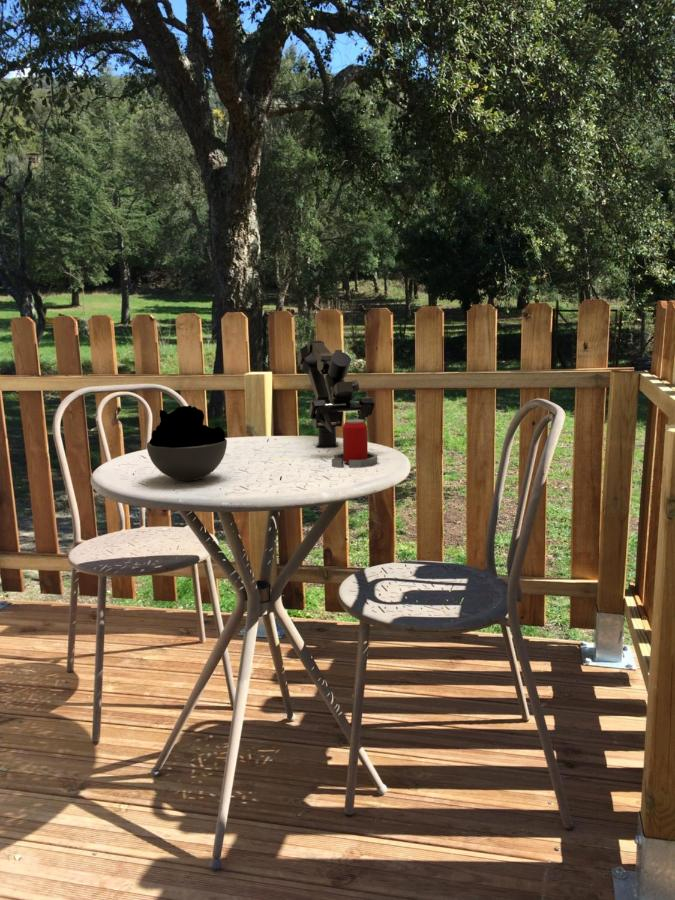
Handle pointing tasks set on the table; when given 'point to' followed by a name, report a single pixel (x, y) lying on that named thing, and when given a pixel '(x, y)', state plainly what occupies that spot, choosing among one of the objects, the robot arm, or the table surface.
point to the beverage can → (354, 440)
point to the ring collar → (355, 461)
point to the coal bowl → (186, 445)
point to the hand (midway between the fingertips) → (347, 430)
